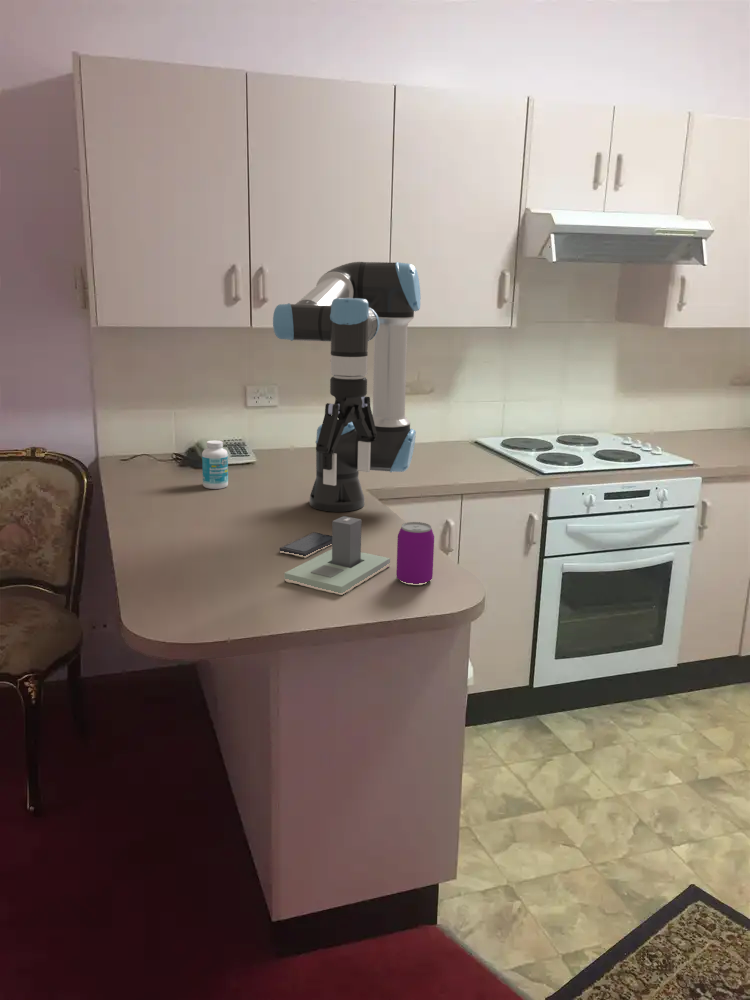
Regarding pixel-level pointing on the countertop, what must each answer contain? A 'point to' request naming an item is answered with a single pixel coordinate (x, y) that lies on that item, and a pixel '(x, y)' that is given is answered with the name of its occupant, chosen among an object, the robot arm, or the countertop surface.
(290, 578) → the outlet plate
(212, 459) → the pill bottle
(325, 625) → the countertop surface
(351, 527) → the brick
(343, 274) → the robot arm
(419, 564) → the beverage can
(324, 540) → the phone
